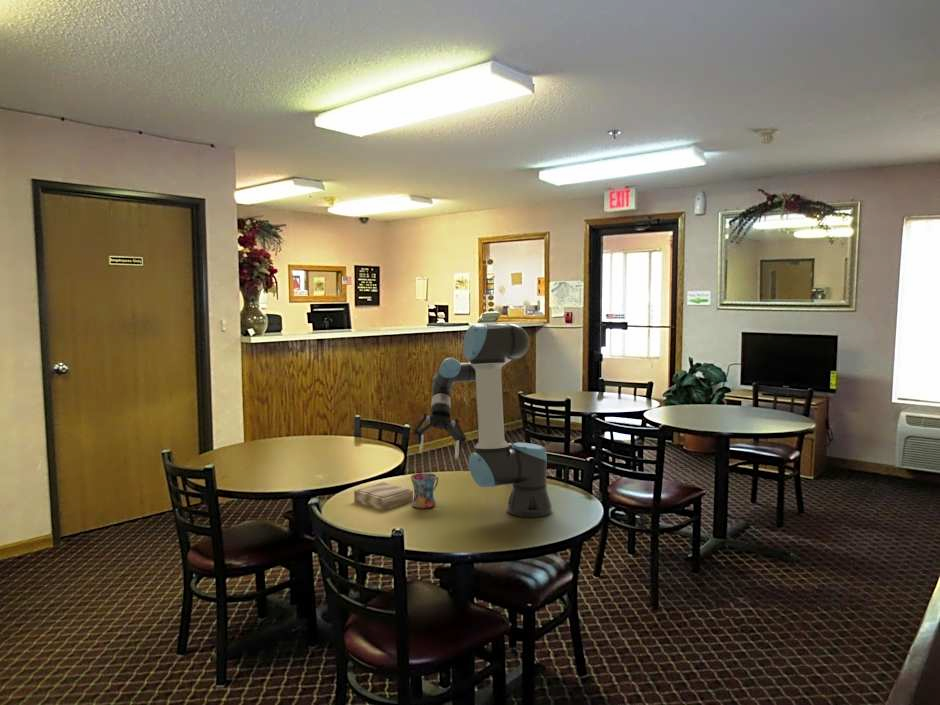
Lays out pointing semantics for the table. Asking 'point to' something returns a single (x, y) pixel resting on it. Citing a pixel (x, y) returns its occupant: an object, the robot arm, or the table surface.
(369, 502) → the block
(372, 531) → the table surface
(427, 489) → the mug
